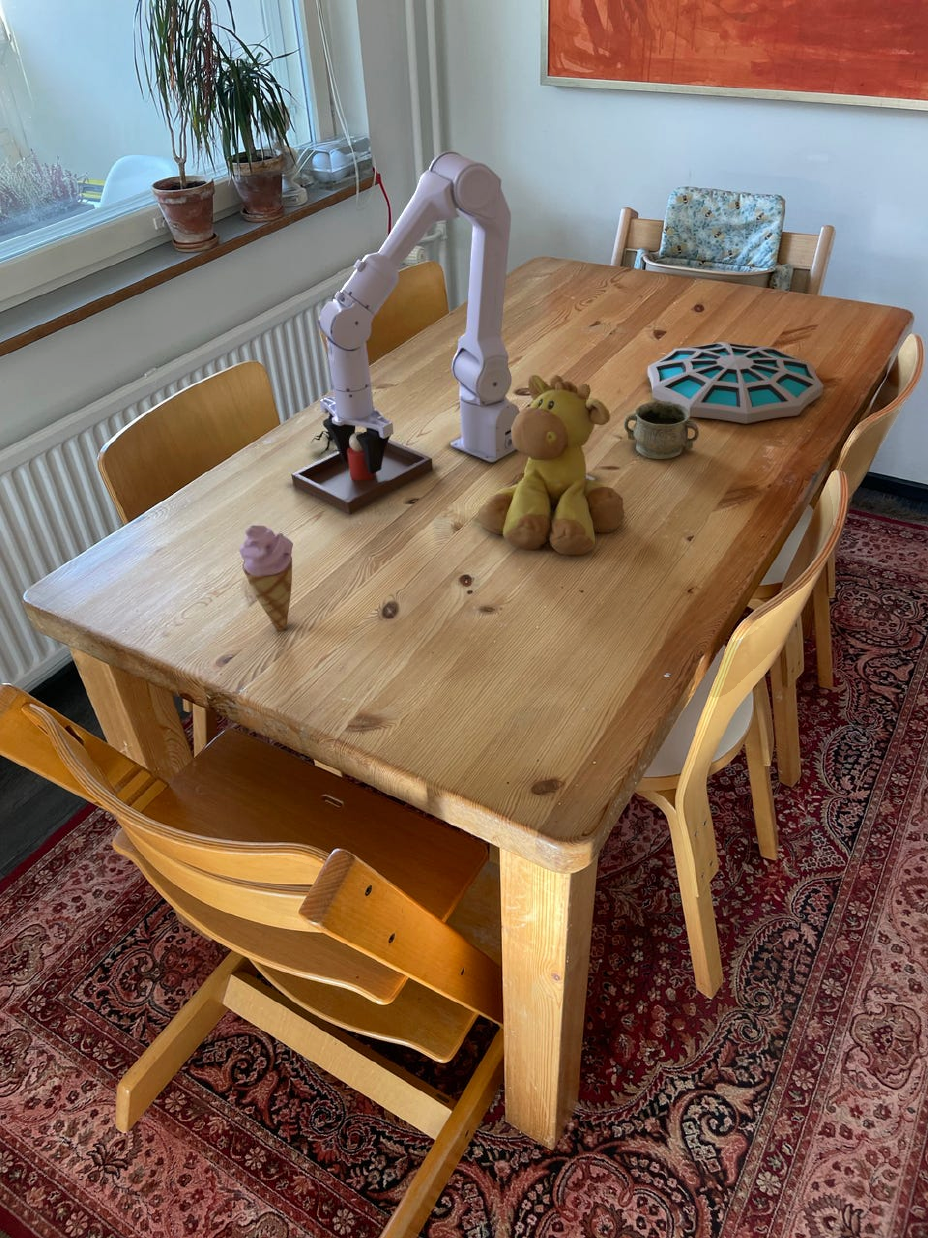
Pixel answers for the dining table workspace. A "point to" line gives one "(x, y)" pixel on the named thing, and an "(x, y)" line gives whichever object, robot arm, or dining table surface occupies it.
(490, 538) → the dining table surface
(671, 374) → the decorative platform
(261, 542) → the ice cream cone
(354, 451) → the peg doll
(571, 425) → the giraffe plush
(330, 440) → the creature
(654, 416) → the vessel
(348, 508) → the tray
